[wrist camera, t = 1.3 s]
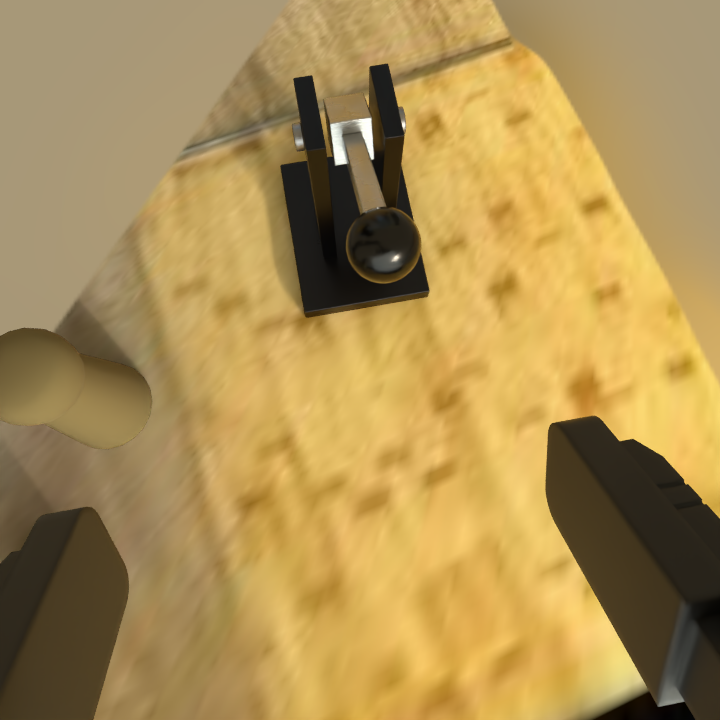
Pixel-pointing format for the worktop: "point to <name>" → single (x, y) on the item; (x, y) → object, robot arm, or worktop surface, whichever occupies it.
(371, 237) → the lever
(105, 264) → the worktop surface
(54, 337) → the cork
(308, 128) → the bracket
